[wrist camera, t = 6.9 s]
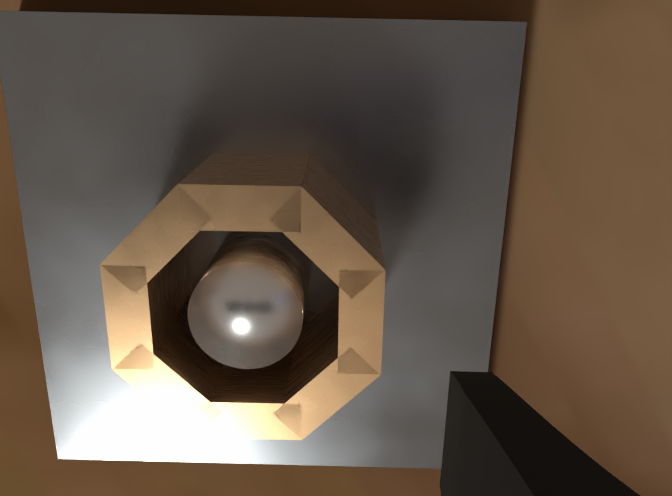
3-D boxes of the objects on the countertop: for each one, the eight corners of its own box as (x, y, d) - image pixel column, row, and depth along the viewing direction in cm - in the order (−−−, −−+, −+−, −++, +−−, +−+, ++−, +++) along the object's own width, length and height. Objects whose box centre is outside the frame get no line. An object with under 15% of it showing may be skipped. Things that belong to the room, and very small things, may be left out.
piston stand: (513, 23, 15) (575, 16, 11) (468, 443, 19) (502, 552, 15) (17, 13, 15) (-102, 2, 11) (75, 433, 19) (2, 539, 15)
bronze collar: (379, 155, 15) (389, 187, 11) (371, 363, 16) (377, 441, 13) (145, 151, 15) (90, 182, 11) (163, 359, 16) (119, 436, 13)
